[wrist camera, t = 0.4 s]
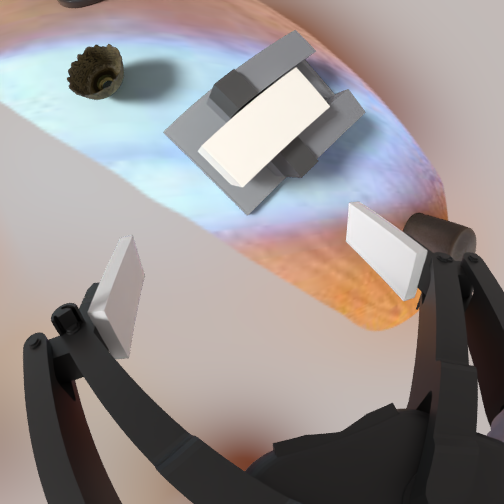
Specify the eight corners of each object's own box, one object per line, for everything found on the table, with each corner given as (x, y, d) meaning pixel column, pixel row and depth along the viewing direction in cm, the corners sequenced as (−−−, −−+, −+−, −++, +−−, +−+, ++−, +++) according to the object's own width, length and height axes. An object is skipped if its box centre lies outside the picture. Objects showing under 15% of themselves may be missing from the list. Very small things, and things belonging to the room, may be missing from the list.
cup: (138, 66, 31) (130, 45, 24) (122, 111, 32) (109, 97, 25) (95, 62, 29) (79, 42, 21) (79, 106, 30) (58, 93, 23)
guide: (245, 214, 41) (266, 227, 32) (163, 133, 35) (158, 119, 25) (346, 116, 41) (385, 107, 31) (279, 41, 34) (306, 12, 25)
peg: (230, 184, 34) (242, 187, 28) (197, 151, 32) (201, 145, 26) (304, 116, 34) (330, 106, 28) (275, 83, 32) (296, 67, 25)
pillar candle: (410, 206, 49) (467, 221, 35) (434, 221, 52) (486, 238, 38) (395, 250, 51) (449, 275, 37) (420, 261, 54) (469, 285, 40)
